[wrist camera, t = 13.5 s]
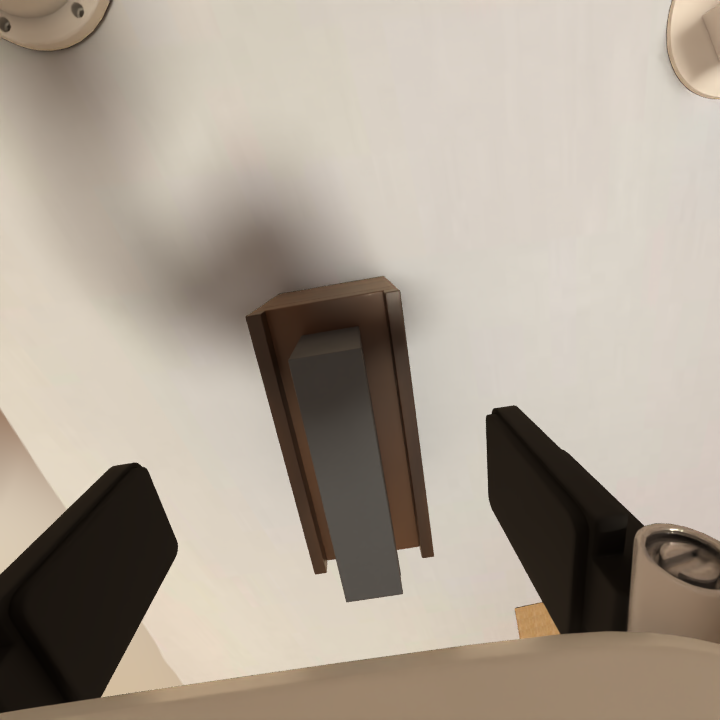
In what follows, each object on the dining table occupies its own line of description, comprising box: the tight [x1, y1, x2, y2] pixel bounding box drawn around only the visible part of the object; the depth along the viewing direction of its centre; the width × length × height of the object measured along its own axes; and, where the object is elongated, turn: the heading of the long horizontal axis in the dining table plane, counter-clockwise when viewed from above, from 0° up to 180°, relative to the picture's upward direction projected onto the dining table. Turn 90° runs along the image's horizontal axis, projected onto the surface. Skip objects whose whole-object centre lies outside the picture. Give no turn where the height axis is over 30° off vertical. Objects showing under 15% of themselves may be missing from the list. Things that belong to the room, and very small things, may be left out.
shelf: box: [246, 276, 434, 574], centre depth 31 cm, size 10×22×11 cm, turn 9°
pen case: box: [288, 326, 403, 602], centre depth 24 cm, size 4×18×6 cm, turn 10°
